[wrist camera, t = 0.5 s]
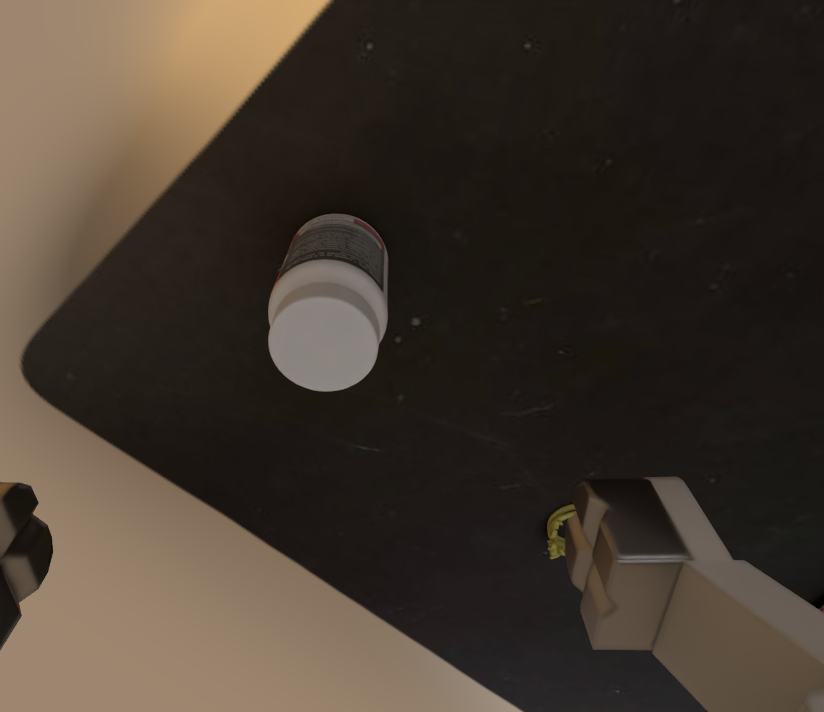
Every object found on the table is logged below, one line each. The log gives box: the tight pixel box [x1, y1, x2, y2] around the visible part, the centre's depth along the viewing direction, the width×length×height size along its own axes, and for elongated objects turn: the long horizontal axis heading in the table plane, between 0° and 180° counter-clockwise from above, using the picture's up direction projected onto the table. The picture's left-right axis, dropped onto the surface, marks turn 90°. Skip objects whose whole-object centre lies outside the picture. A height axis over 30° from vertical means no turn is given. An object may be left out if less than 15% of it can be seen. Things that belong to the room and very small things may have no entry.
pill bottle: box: [268, 214, 388, 391], centre depth 25 cm, size 5×5×8 cm
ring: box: [547, 504, 576, 559], centre depth 38 cm, size 3×3×3 cm
